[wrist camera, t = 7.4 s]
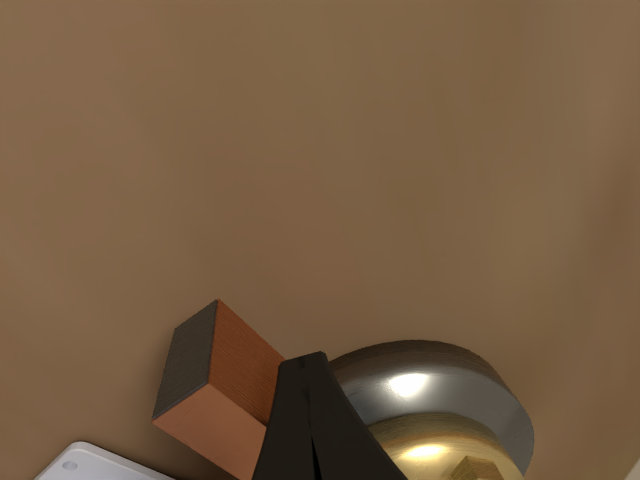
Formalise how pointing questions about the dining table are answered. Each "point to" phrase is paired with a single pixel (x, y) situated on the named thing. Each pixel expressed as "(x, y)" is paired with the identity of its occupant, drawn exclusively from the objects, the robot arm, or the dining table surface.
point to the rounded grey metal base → (434, 389)
